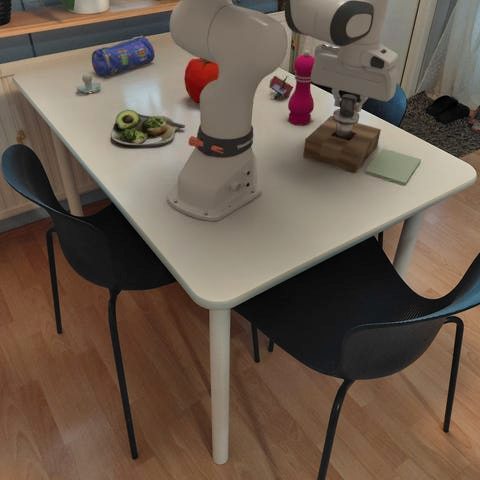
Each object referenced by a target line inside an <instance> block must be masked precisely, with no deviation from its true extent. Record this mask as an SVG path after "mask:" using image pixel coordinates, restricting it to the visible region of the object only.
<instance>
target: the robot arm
mask: <svg viewBox="0 0 480 480" xmlns="http://www.w3.org/2000/svg"><path fill="white" fill-rule="evenodd" d="M388 3H389V0H285V1H284V19H285V22H286V25H287V27H288V28H289V29H290V30H291V31H292V32H293V33H296V34H300V35H303V36H308V37H311V38H313V39H316V40H319V41H321V42H323V43H321V44H319V45H317V46H316V47H315V48H314V53H313V54H314V55H313V57H314V59H315V62H314V65H313V68H312V73H311V80H312V81H311V83H313V84H315V85H320V86H322V87H323V86H324V87H327V88H331V94H332V96H333V99H334V105H333V106H334V107H337V108H340V105H341V99H342V97H341V95H340V93H339V92H340V91H343V92H347V93H351V94H353V95H354V94H355V95H359V96H360V97H359V100H360V102H357V101H356V104H354V109H353V111H355V112H357V113H360V112H361V111H362V107H363V104H364V103H365V102H366V101H367V100H368V99H369V98H371V99H374V100H378V101H381V102H389V100H391V99H392V98H393V97H394V96H395V94H396V89H397V84H398V69H397V66H396V63H397V62H398V61H399V60H398V59H399V55H398V53H397V52H395V51H393V50H392V49H390V48H388V47H386V46H385V45H384V44H382V43H381V38H382V37H381V29H382V26H383V23H384V21H385V18H386V14H387V8H388ZM169 33H170V36H171V39H172V41H173V43H175V45H177V47H180V49H182V50H184V51H185V52H186V53H188V54H190V55H191V56H193V57H196V58H198V59H199V58H202V59H205V60H208V61H211V62H214V63H216V64H218V67H219V75H218V79H217V80H214V81H212V82H210V83H209V84H207V85H206V86H205V87H204V89H203V90H202V92H201V94H200V104H199V113H200V114H199V118H200V123H199V126H198V130H197V132H196V133H197V134H196V137H195V136H192V135H191V136H190V137H189V139H188V142H187V143H188V145H189V146H190V147H194V148H193V150H192V152H191V154H190V155H189V157H188V159H187V161H186V163H184V165H183V167H182V169H181V171H179V174H178V176H177V177H178V179H177V185H175V187H174V188H173V189H172V190H171V192H169V194H168V195H167V198H166V201H167V203H168V205H170V206H171V207H172V208H173V209H175V210H177V211H178V212H180V213H183V214H184V215H186V216H189V217H192V218H195V219H199V220H203V221H209V222H210V221H211V222H213V221H214V222H215V221H217V222H218V221H220V220H221V219H223V218H225V217H226V216H228V215H230V214H231V213H234V212H235V211H237V210H238V209H239V208H241V207H243V206H245V205H246V204H247V203H249V202H251V201H253V200H254V199H256V198H258V197H259V196H260V195H261V194H262V188H261V187H260V185H259V184H258V169H257V158H256V156H255V154H254V151H253V148H252V146H253V143H254V136H255V135H254V134H255V133H254V127H253V124H252V123H253V122H252V121H253V111H254V110H253V108H254V99H255V94H256V91H257V89H258V87H259V85H260V84H261V82H262V80H264V79H265V78H266V77H268V76H270V75H271V74H273V73H274V72H275V71H276V70H277V69H279V67H280V66H281V65H282V63H283V62H284V60H285V58H286V56H287V53H288V52H287V51H288V45H289V43H288V42H289V40H288V34H287V31H286V28H285V26H284V24H282V22H280V21H278V20H276V19H275V18H273V17H271V16H270V15H268V14H266V13H264V12H262V11H259V10H258V11H257V10H255V9H252V8H251V9H250V8H246V7H242V6H238V5H236V4H234V3H233V1H232V0H180V1H179V2H177V4H176V5H175V7H174V8H173V10H172V12H171V14H170V20H169ZM324 42H325V43H324ZM329 44H330V45H329Z"/></svg>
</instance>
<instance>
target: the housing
mask: <svg viewBox="0 0 480 480" xmlns="http://www.w3.org/2000/svg"><path fill="white" fill-rule="evenodd" d="M336 124H337V122H336V121H334V120H333V115H330V116H329V117H328V118H327V119H326V120H325V121H323V123H322V124H320V125H319V126H317V128H315V130H313V132H312V133H311V134H309V135H308V136H307V137H306V138H305V139H304V145H303V156H302V157H303V158H305V159H309V160H311V161H314V162H318V163H321V164H324V165H328V166H330V167H334V168H336V169H339V170H343V171H346V172H350V173H353V174H356V172H357V171H358V170H359V169H360V168H361V167H362V165H363V164H364V163H365V162H366V161H367V160H368V159H369V157H370V156H371V154H373V152H374V151H375V150H376V149H377V147H378V143H379V140H380V136H381V130H382V129H381V128H377V127H374V126H370V125H367V124H363V123H359V122H357V123H356V124H353V126H352V132H351V137H350V140H349V141H348V140H345V139H341V138H338V137H334V136H335V130H336Z"/></svg>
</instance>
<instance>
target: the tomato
mask: <svg viewBox="0 0 480 480" xmlns="http://www.w3.org/2000/svg"><path fill="white" fill-rule="evenodd" d="M218 75H219V67H218V64H216V63H214V62H211V61H208V60H205V59H202V58H199V57H198V58H191V59H190V60H189V61H188V64H187V66H186V67H185V70H184V76H183V77H184V78H183V79H184V80H183V81H184V86H185V91H186V92H187V94H188V96H189V98H190V99H191V100H192V102H194V103H195V104H197V105H198V104H199V105H200V94H201V92H202V90H203V89H204V87H205V86H206V85H207V84H209V83H210V82H212V81H214V80H217V79H218Z"/></svg>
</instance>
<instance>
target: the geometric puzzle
mask: <svg viewBox="0 0 480 480" xmlns="http://www.w3.org/2000/svg"><path fill="white" fill-rule="evenodd" d="M287 79H290V77H289V75H285V76H284V77H283V78H280V77H278V75H274V76H273V77H272V78H271V79H270V81H269V85H268V87H269V89H270V90H272V91H274V92H276V95H273V99H274V100H275V99H277V98H278V99H280V100H281V99H287V100H288V99H289V96H290V95H291V93H292V91H293V89H295V87H294V85H293V84H292V85H291V83H288V82H286V81H287ZM279 96H280V97H283V98H280V97H279Z"/></svg>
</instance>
